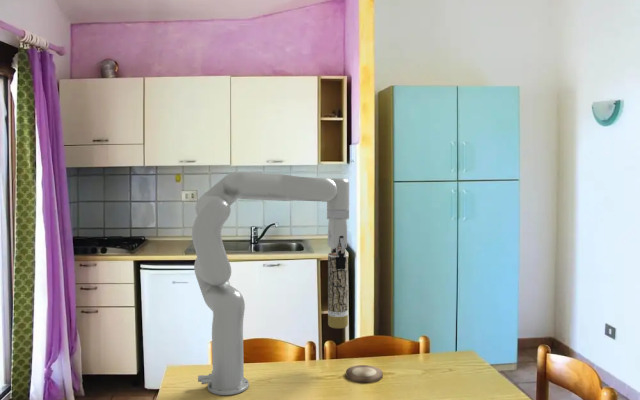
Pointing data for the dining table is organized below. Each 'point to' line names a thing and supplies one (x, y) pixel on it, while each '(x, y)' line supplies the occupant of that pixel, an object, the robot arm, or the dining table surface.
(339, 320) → the bark-patterned cylinder
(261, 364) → the dining table surface
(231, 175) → the robot arm
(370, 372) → the base
